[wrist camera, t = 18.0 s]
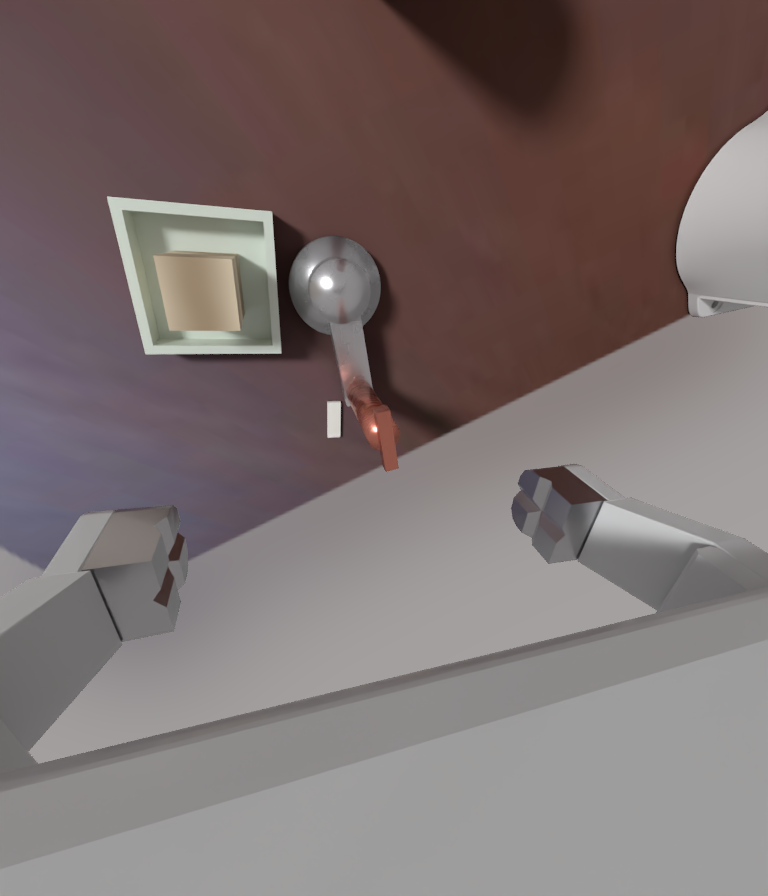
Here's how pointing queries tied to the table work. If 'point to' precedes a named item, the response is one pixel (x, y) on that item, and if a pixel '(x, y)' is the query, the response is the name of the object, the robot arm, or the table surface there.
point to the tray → (199, 230)
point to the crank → (353, 348)
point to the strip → (333, 418)
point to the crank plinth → (310, 258)
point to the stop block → (201, 290)
